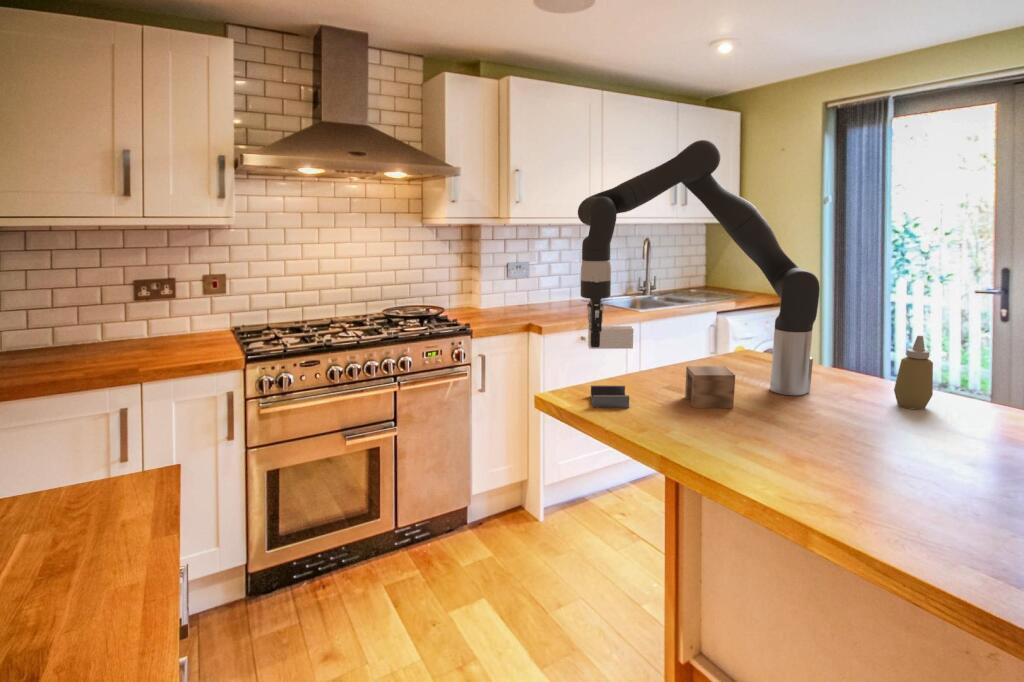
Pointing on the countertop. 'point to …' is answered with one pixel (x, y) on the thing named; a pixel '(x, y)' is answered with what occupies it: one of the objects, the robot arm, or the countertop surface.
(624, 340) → the shiny metal block
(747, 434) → the countertop surface
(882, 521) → the countertop surface
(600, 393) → the grey channel block
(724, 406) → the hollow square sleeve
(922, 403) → the squeeze bottle
